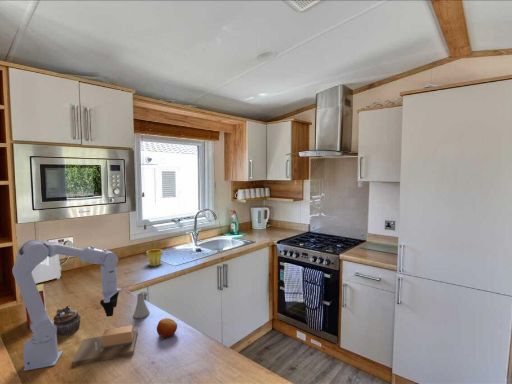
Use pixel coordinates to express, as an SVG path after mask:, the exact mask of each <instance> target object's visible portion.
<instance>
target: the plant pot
mask: <svg viewBox="0 0 512 384" xmlns="http://www.w3.org/2000/svg"><path fill="white" fill-rule="evenodd" d="M162 255H163V249H160V248H155V249H154V248H153V249H149V250H147V251H146V258H148V262H149V265H150V266H151V267H155V266H159V265H161V259H162Z"/></svg>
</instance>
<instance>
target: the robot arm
mask: <svg viewBox="0 0 512 384" xmlns="http://www.w3.org/2000/svg"><path fill="white" fill-rule="evenodd" d="M57 255H60V256H68V257H74V258H79V259H80V262H83V263H87V264H89V263H90V264H95V265H100V277H101V288H102V289H101V290H102V291H101V294H102V296H103V299H101V300H100V302H99V303H100V306H101V307H102V308H103V310H104V312H105V315H106V317H108V318H109V317H113V316H114V312H115V311H114V308H117V305H118V298H119V294H120V292H121V290H122V288H121V287H120V288H119V286H118V272H117V264H118V262H119V257H118V255H117V254H116V253H114V252H112V251H110V250H108V249H106V248H105V249H104V248H103V249H99V248H96V247H95V246H94V245H90V246H85V247H84V248H78V247H74V246H70V245H66V244H62V243H58V242H53V241H48V240H47V241H46V240H41V241H40V240H39V239H38V240H37V239H30V240H28V241H26V242H24V243H23V245H22V246H20V248H19V249H18V250H17V255H16V258H15V261H14V263H13V267H12V268H11V269H12V270H11V271H12V275H13V277H14V279H15V280H14V281H15V282H16V283H15V284H16V286H17V287H18V290H19V292H20V295H21V298H22V300H23V303H24V306H25V309H26V308H27V311H28V313H29V316H30V319H31V324H30V331H32V332H31V333H32V334H33V335H32V338H29V339H27V340H26V341H25V342H24V344H23V350H22V356H23V365H24V368H23V371H24V372H26V371H30V370H31V371H32V370H36V369H43V368H46V367H53V366H55V365H56V364H57V362H58V360H59V359H60V357H61V355H62V354H63V350H59V348H58V347H59V346H58V337H57V327H56V326H55V325H54V321H52V319H51V317H50V316H49V314H48V312H47V309H46V310H45V308H44V305H43V302H42V300H41V297H40V294H39V292H38V289H37V286H36V285H37V284H36V281H35V279H34V276H33V273H32V272H33V271H34V269H35V268H36V267H37V266H38V265H39V264H41V263H42V262H44V261H45V260H47V258H53V257H54V256H57ZM46 312H47V313H46Z"/></svg>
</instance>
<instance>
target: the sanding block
mask: <svg viewBox="0 0 512 384" xmlns="http://www.w3.org/2000/svg"><path fill="white" fill-rule="evenodd" d="M133 331H134V325H125V326H120V327H115V328H108V329H104V332H103V334H102V336H103V349H105V348H111V347H117V346H122V345H128V344H132V342H133V338H134V335H133Z"/></svg>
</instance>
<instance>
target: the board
mask: <svg viewBox="0 0 512 384" xmlns="http://www.w3.org/2000/svg"><path fill="white" fill-rule="evenodd" d="M138 334H139V333H138V329H137V330H133V335H134V338H133V342H132V344H128V345H122V346H117V347H111V348H105V349H103V335H100V336H96V337H95V336H94V337H89V338H83V339H82V342H81V343H80V345H79V348H78V350H77V351H76V353H75V355H74V357H73V360H72V361H71V366H72V367H75V366H80V365H85V364H90V363H94V362H95V363H97V362H102V361H107V360H108V361H109V360H113V359H118V358H123V357H128V356H133V355H134V353H135V350H136V349H135V348H136V345H137V338H138Z"/></svg>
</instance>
